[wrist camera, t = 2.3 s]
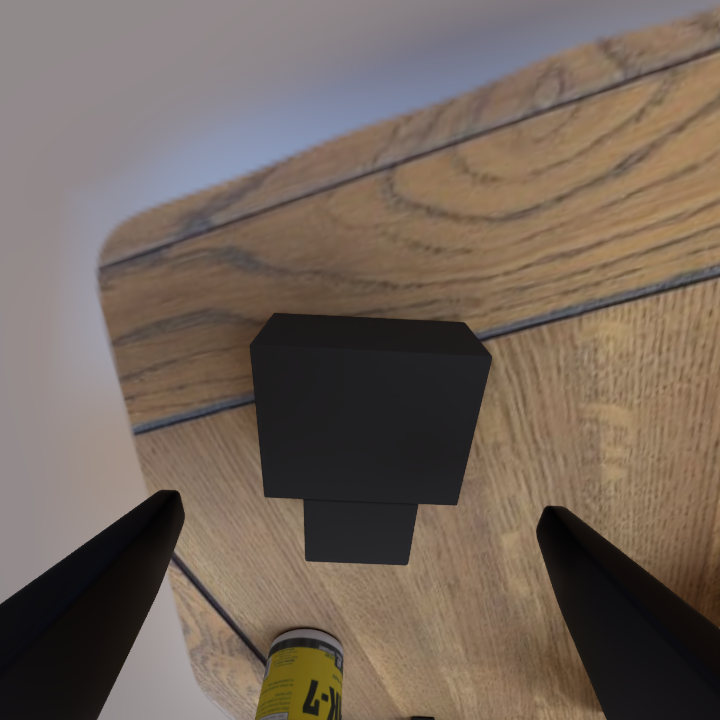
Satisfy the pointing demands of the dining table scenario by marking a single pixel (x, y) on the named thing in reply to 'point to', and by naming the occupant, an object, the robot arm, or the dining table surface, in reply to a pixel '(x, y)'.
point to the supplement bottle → (302, 678)
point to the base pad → (415, 719)
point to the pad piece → (365, 425)
